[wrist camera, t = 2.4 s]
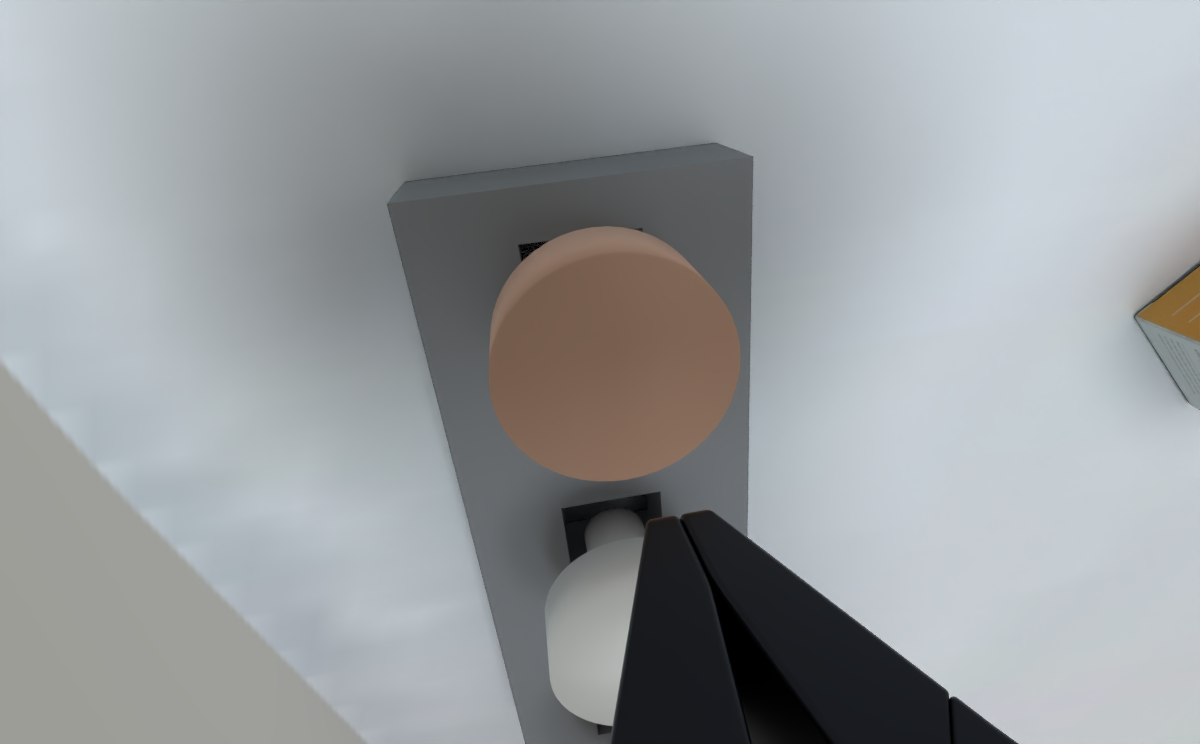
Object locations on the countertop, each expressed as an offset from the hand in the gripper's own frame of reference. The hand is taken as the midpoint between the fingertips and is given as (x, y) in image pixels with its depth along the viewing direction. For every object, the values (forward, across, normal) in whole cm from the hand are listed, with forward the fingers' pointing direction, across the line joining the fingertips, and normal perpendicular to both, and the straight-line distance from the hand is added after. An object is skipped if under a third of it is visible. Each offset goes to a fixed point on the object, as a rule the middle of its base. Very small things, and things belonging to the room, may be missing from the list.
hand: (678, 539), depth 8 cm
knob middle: (+10, 0, +8) cm, 13 cm away
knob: (+10, 0, 0) cm, 10 cm away
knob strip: (+12, 0, +8) cm, 15 cm away
